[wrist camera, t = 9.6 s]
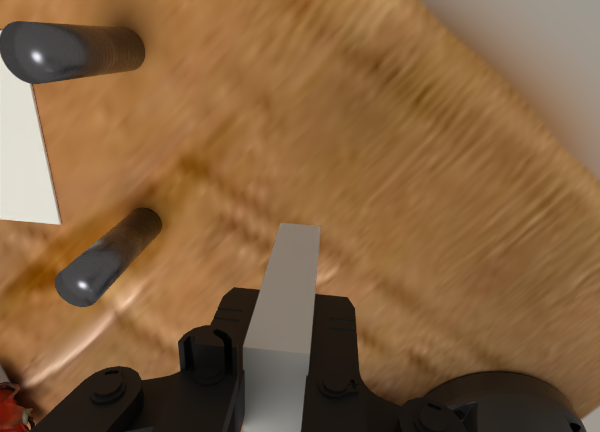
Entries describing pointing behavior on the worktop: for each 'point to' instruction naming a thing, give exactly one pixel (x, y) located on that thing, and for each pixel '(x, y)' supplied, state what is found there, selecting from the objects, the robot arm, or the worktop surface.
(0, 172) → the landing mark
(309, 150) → the worktop surface
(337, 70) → the worktop surface
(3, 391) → the dragon fruit
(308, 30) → the worktop surface
